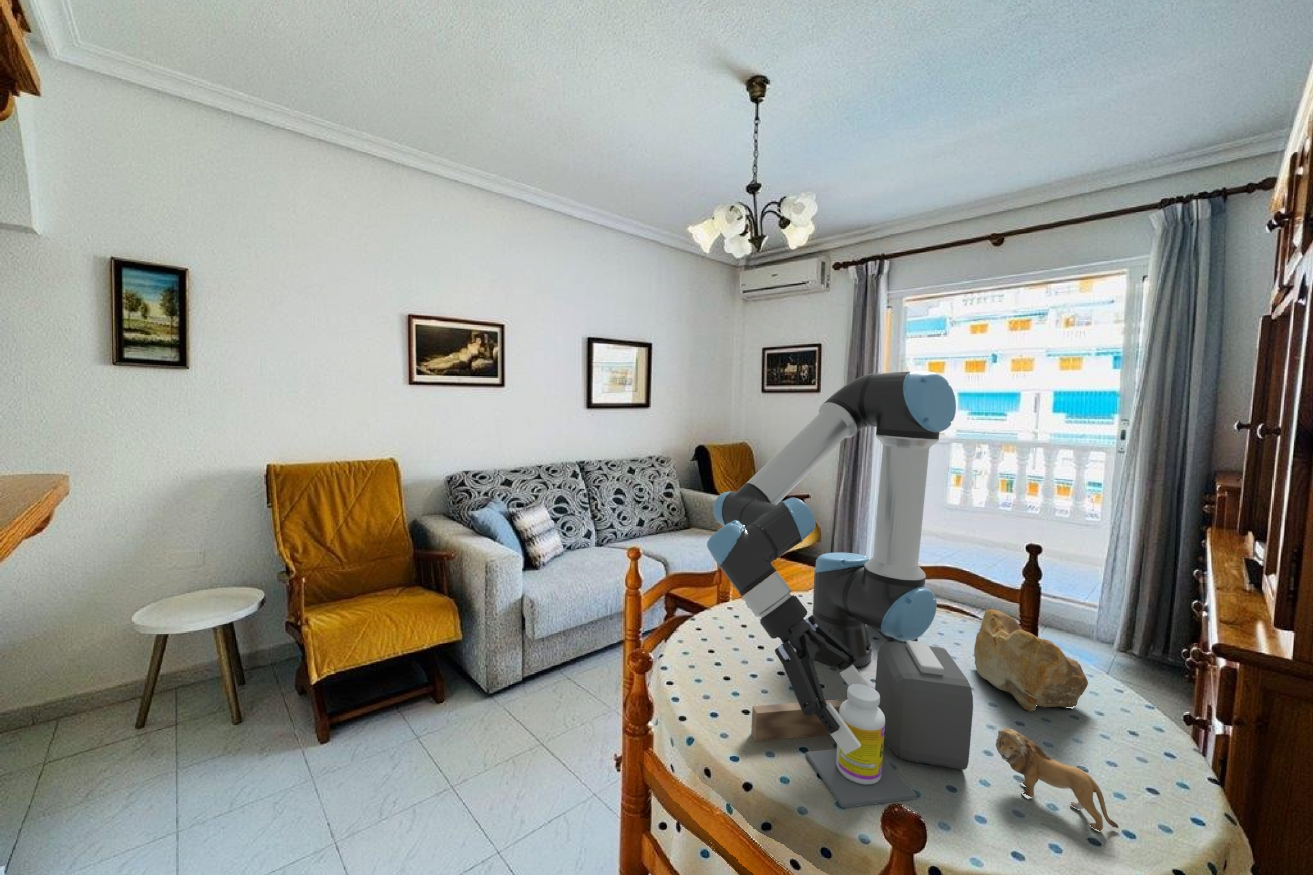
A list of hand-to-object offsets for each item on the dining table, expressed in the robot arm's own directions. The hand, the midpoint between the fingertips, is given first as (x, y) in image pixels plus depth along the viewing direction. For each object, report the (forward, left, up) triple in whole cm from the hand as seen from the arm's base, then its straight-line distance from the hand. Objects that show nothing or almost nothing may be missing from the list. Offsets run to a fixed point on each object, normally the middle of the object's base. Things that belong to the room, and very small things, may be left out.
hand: (864, 725), depth 79 cm
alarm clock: (-15, -7, -9) cm, 19 cm away
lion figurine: (-25, +9, -9) cm, 28 cm away
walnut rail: (+3, -11, -8) cm, 15 cm away
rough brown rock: (-49, -16, -9) cm, 52 cm away
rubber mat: (0, 0, -8) cm, 8 cm away
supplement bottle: (0, -1, -8) cm, 8 cm away
